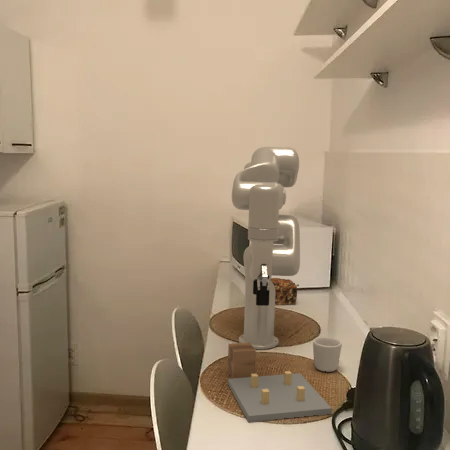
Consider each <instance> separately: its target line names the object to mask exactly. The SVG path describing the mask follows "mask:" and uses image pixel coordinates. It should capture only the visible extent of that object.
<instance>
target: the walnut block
mask: <svg viewBox="0 0 450 450" xmlns="http://www.w3.org/2000/svg"><path fill="white" fill-rule="evenodd" d="M227 347H228V350H227V354H228V355H227V373H228V372H229V373H230V375H231V376H230V375H229V376H230V378H231V377H232V378H244V377H251V374H256V356H257V349H254V347H253V346H252V345H251V344H250V342H249V343H239V342H235V343H228V346H227ZM229 373H228V374H229Z"/></svg>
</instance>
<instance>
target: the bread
mask: <svg viewBox="0 0 450 450" xmlns="http://www.w3.org/2000/svg"><path fill="white" fill-rule="evenodd" d="M270 281H271V282H272V283H273V285H274V287H275V306H284V305H290V306H293V305H296V303H297V299H298V286H297V285H296V283H295V282H294V281H292V280H291V279H290V278H289V279H288V278H287V279H286V278H280V277H271V280H270Z"/></svg>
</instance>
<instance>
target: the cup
mask: <svg viewBox="0 0 450 450" xmlns="http://www.w3.org/2000/svg"><path fill="white" fill-rule="evenodd" d="M342 345H343V343H342V341H341V340H339V338H335V337H331V336H318V337H317V336H316V338H314V339H313V340H312V350H313V364H314V367H315V369H317V370H318V371H322V372H325V371H326V372H328V373H329V372H331V373H332V372H334V371H336V370H337V369H338V367H339V363H340V358H341V353H342V352H341V351H342Z"/></svg>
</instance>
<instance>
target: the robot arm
mask: <svg viewBox="0 0 450 450" xmlns="http://www.w3.org/2000/svg"><path fill="white" fill-rule="evenodd" d="M299 170H300V158H299V154H298V151H296V149H294V148H292V147H287V146H285V147H283V146H262V147H259V148H257V149H256V150H255V151H254V152H253V154H252V155H251V160H250V161H249V162H248V163H246V164H245V166H244V168H243V170H241V171H239V172H238V173H236V175H235V176H234V179H233V181H232V189H231V201H232V204H233V206H234V208H235V209H237V210H241V211H248V227H247V228H248V229H247V239H248V241H251V244H250V245H248V246H247V247H246V248H245V250H244V251H243V255H242V256H243V257H242V258H243V259H242V260H243V266H244V267H243V269H244V278H245V279H244V283H245V287H244V288H245V289H244V290H245V291H244V315H243V316H244V321H243V334H241V335H240V336H239V337H238V343H249V342H250V344H251V345H252V346H253V347H254V349H255V350H267V349H269V350H270V349H273V348H275V347H277V346H278V345H279V338H278V337H277V336H275V335H274V334H275V315H276V314H275V313H276V312H275V311H276V305H275V287H274V285H273V283H272V282H271V281H270V280H271V278H272V276H276V277H277V276H278V277H293V276H295V275H297V274H298V273H299V270H300V267H301V266H300V265H301V245H300V244H301V239H300V238H301V237H300V234H301V233H300V223H299V220H298V218H297V217H295V216H294V215H291V214H280V210H281V209H282V208H283V206H284V205H286V203H287V202H286V201H287V200H286V199H287V191H286V189H285V188H292V187H294V185H296V182H297V179H298V175H299Z"/></svg>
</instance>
